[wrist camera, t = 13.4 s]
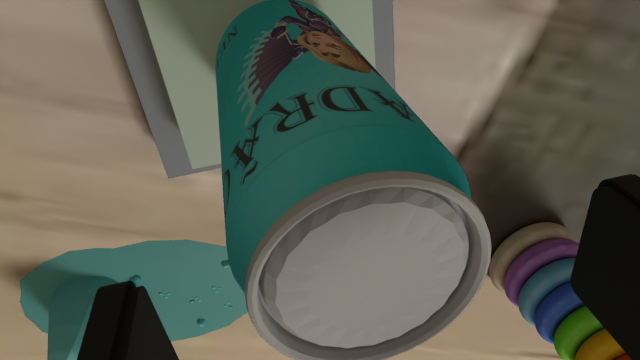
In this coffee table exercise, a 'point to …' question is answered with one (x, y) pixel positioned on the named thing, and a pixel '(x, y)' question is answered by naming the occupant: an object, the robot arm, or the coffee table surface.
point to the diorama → (143, 270)
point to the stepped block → (199, 64)
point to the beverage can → (337, 195)
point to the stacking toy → (551, 291)
